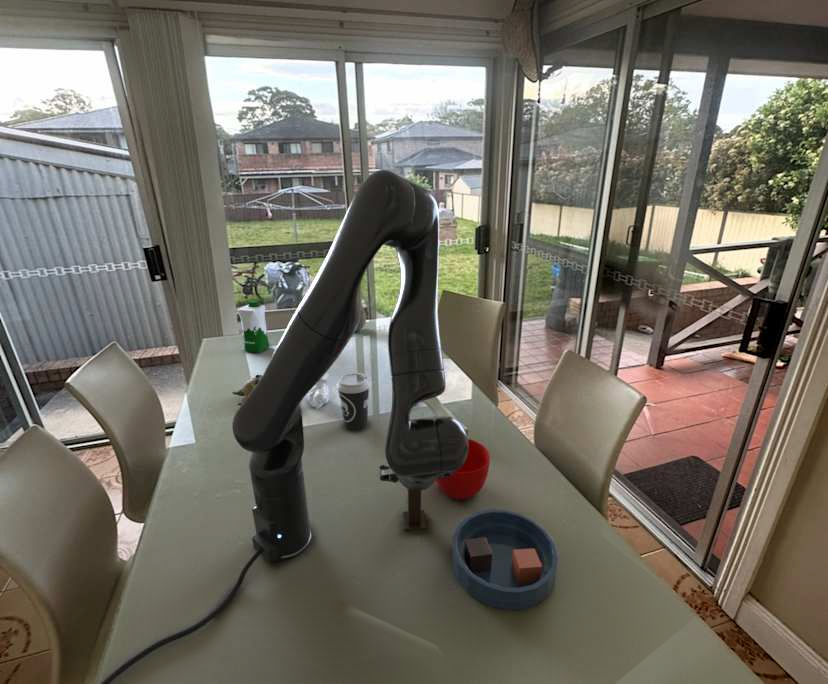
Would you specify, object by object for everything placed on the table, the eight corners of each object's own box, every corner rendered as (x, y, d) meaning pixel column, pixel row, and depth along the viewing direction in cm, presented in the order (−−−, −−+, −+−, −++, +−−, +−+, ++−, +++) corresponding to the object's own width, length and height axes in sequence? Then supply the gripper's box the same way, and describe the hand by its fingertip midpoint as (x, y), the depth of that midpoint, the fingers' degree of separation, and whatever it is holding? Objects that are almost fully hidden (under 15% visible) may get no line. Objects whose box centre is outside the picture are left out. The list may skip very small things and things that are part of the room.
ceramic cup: (439, 459, 112) (439, 426, 108) (498, 487, 102) (500, 451, 98) (406, 486, 103) (405, 450, 99) (467, 520, 93) (469, 481, 89)
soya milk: (272, 346, 185) (266, 300, 178) (259, 354, 177) (252, 306, 170) (254, 343, 188) (247, 298, 180) (241, 351, 180) (233, 304, 172)
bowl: (524, 636, 69) (527, 613, 68) (432, 572, 81) (432, 551, 79) (570, 561, 83) (574, 540, 81) (485, 515, 94) (486, 496, 92)
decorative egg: (358, 325, 210) (356, 294, 204) (371, 331, 202) (369, 299, 197) (338, 330, 203) (336, 299, 198) (351, 336, 196) (349, 304, 190)
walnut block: (469, 573, 79) (470, 556, 78) (464, 555, 83) (464, 539, 82) (491, 570, 80) (492, 554, 78) (484, 553, 84) (485, 536, 82)
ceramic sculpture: (283, 375, 139) (233, 389, 132) (287, 398, 142) (239, 413, 135) (274, 363, 147) (227, 376, 141) (279, 386, 151) (233, 399, 144)
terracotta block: (518, 585, 77) (519, 568, 76) (511, 566, 81) (512, 549, 79) (540, 583, 77) (542, 566, 76) (532, 564, 81) (534, 548, 80)
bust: (326, 416, 136) (345, 386, 136) (305, 408, 132) (325, 376, 132) (315, 400, 146) (333, 371, 146) (296, 391, 142) (314, 362, 142)
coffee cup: (366, 436, 122) (364, 388, 117) (334, 432, 124) (330, 384, 118) (376, 418, 131) (374, 372, 125) (345, 415, 133) (342, 370, 127)
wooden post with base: (426, 531, 90) (427, 475, 82) (404, 533, 89) (403, 476, 82) (423, 513, 94) (424, 457, 86) (402, 515, 93) (401, 459, 85)
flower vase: (446, 465, 122) (388, 391, 146) (482, 443, 125) (420, 374, 150) (440, 439, 114) (381, 366, 139) (479, 416, 118) (414, 348, 142)
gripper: (458, 438, 73) (446, 455, 89) (375, 443, 72) (377, 459, 88) (463, 485, 71) (450, 494, 86) (376, 491, 69) (379, 499, 85)
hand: (413, 476), depth 87 cm, fingers closed on wooden post with base, 2 cm apart
